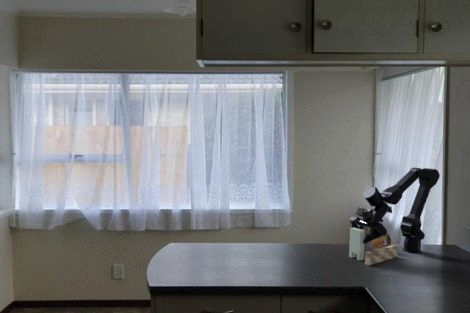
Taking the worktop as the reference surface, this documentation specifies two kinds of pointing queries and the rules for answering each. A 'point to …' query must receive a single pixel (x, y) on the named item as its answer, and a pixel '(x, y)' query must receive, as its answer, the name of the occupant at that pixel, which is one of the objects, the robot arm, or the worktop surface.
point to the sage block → (356, 243)
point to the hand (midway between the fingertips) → (356, 240)
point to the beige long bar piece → (381, 254)
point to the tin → (379, 242)
